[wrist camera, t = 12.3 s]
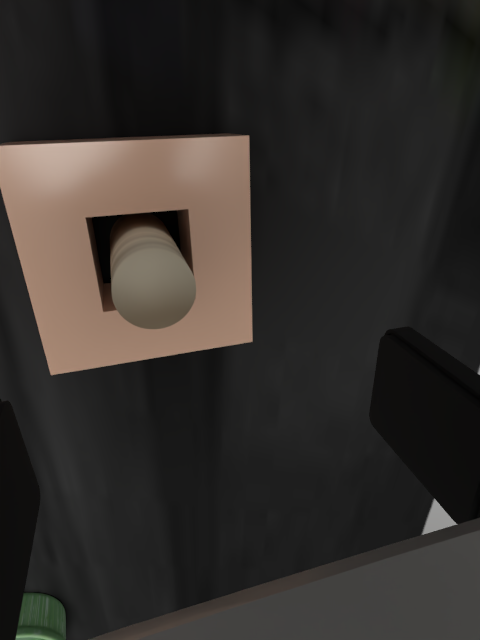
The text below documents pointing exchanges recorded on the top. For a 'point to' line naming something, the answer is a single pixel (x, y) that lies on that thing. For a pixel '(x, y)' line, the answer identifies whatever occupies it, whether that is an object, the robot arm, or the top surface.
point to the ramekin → (41, 618)
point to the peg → (148, 273)
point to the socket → (128, 198)
